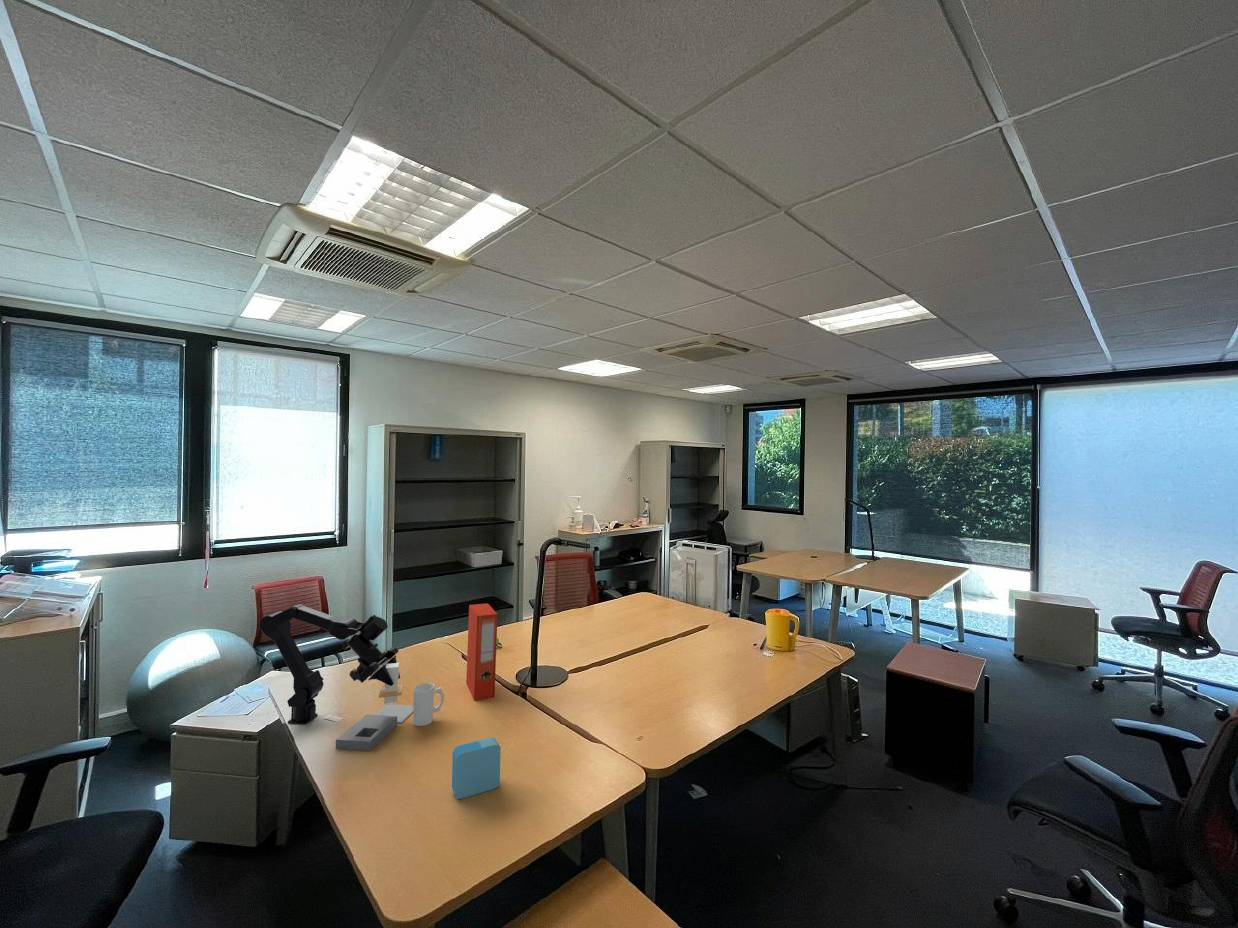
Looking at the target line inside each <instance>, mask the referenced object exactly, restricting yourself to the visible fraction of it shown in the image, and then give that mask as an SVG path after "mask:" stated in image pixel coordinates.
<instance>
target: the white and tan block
mask: <svg viewBox="0 0 1238 928" xmlns="http://www.w3.org/2000/svg"><path fill="white" fill-rule="evenodd" d="M386 669H387V671H388V673H389V675H390V677H391V679H392V681H393V683H394V684H393V685H392V686H390V685H388V684H386V683H384V685H382V686H381V687H380V689H379V690H380V691H379V695H378V698H379V699H382V698H384V699H383V704H384V705H387V704H392V703H393V704H395V703H397V702H398V697H399V696H402V694H403V689H404V683H401V684H399V679H400V678H399V674H400V671H399V670H400V662H397V663H392V664H386Z"/></svg>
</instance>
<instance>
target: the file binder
mask: <svg viewBox="0 0 1238 928" xmlns="http://www.w3.org/2000/svg"><path fill="white" fill-rule="evenodd" d="M498 616H499V615H498V612H496V611H495V610H494V608H493V607H492V606H491V605H490V603H477V604H469V606H468V627H467V628H468V629H467V650H466V651H467V655H466V681H465V683H466V685H467V687H468V690H469V692H470V695H471V697H472V700H473V701H481V700H485V699H492V698H495V694H496V667H497V640H498Z"/></svg>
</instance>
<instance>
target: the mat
mask: <svg viewBox="0 0 1238 928" xmlns="http://www.w3.org/2000/svg"><path fill="white" fill-rule="evenodd" d="M374 715H383V716H397V724H403V723H404V722H405V721H406V720H407V719H408V718H409V717H410V716H411V715H413V705H411V704H395V703H393V704H392V703H386V704H385V705H384V706H383V707H382V708H381V709H379V710H378V711H377V712H376V713H375V714H374Z"/></svg>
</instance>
